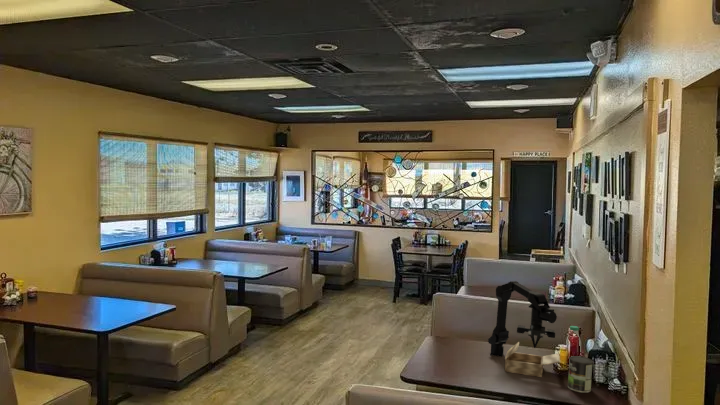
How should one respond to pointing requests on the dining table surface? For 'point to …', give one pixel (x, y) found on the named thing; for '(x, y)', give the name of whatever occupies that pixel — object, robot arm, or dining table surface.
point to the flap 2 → (551, 359)
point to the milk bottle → (575, 330)
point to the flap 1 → (512, 350)
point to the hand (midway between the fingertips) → (534, 347)
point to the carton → (524, 364)
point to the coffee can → (580, 374)
